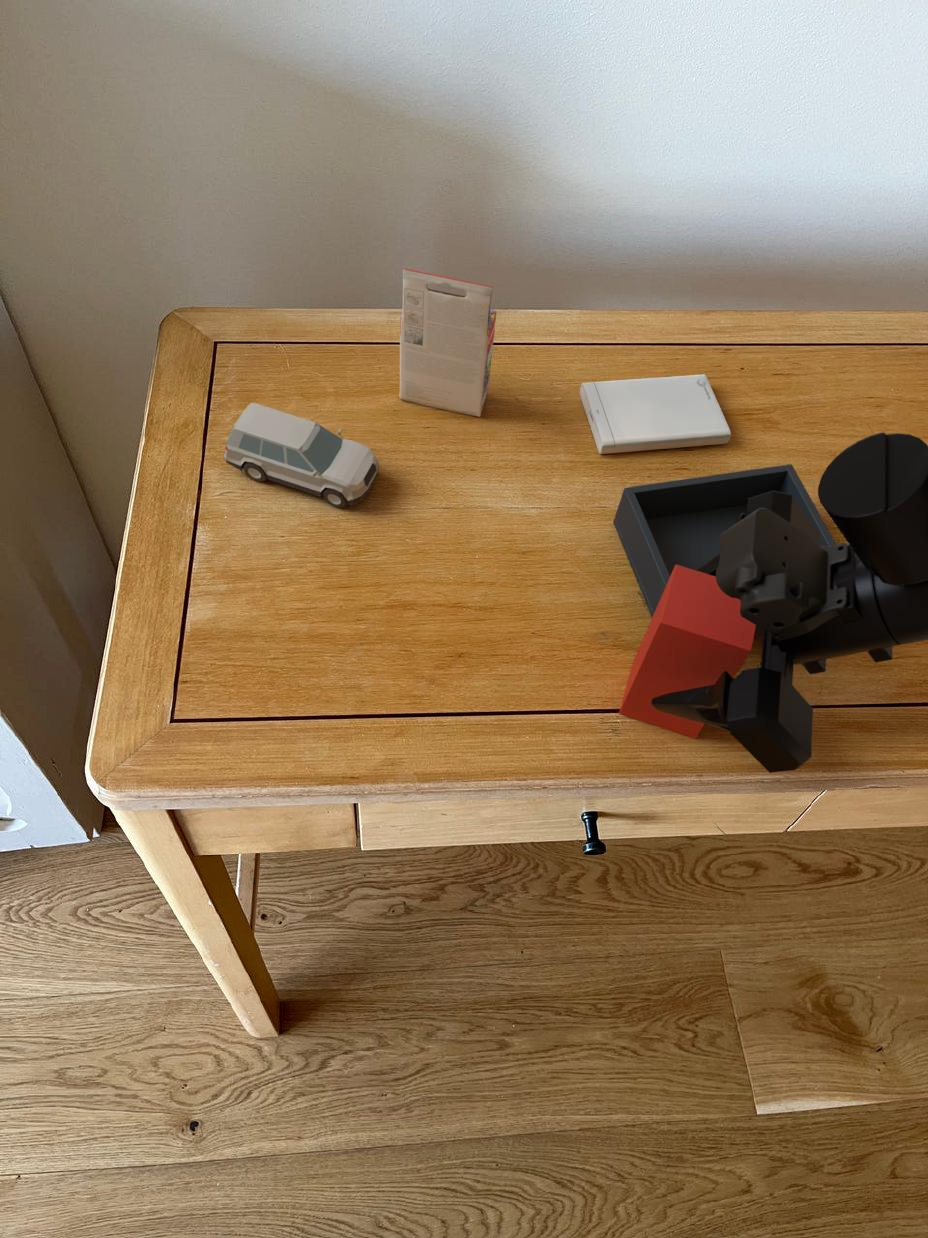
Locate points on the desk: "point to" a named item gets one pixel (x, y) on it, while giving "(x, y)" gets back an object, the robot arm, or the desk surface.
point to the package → (686, 647)
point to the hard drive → (653, 413)
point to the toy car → (300, 455)
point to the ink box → (445, 343)
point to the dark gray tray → (695, 521)
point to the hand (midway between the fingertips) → (662, 648)
